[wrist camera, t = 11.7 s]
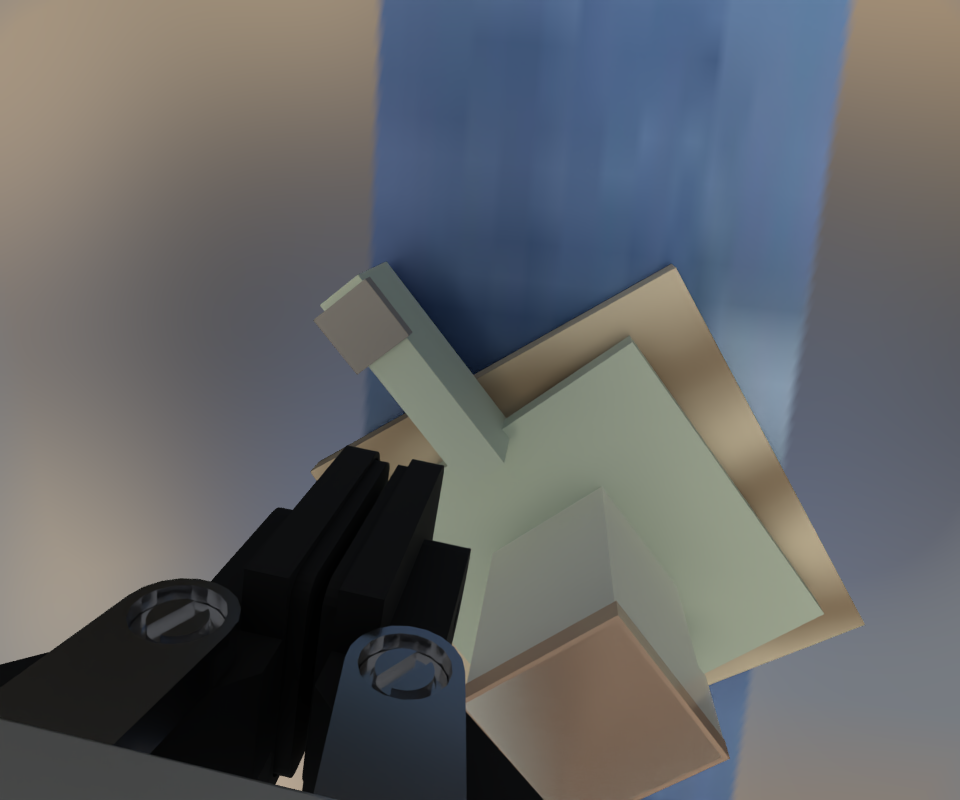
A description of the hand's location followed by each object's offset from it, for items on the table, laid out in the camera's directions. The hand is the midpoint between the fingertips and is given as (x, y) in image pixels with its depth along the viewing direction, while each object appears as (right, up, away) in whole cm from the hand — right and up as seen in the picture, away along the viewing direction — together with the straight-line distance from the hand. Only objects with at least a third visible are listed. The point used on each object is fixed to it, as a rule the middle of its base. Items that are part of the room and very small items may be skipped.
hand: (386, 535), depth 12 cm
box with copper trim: (+7, -6, +18) cm, 20 cm away
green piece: (+4, -1, +18) cm, 19 cm away
